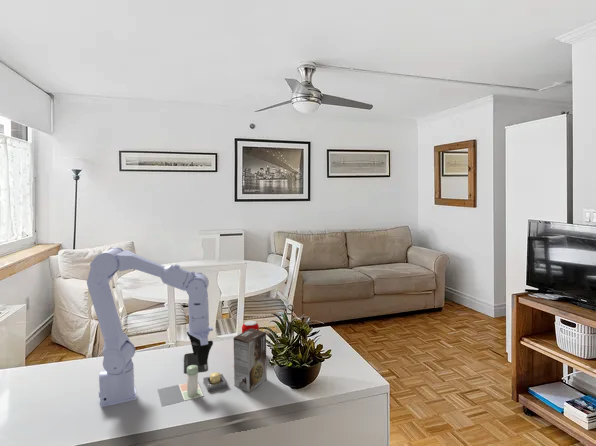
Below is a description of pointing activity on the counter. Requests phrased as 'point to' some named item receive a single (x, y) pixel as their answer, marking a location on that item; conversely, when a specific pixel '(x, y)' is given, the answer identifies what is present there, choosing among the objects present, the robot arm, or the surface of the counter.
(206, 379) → the button collar
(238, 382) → the coffee box
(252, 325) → the beverage can
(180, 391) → the picture board
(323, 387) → the counter surface
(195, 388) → the marker
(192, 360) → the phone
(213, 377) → the button
